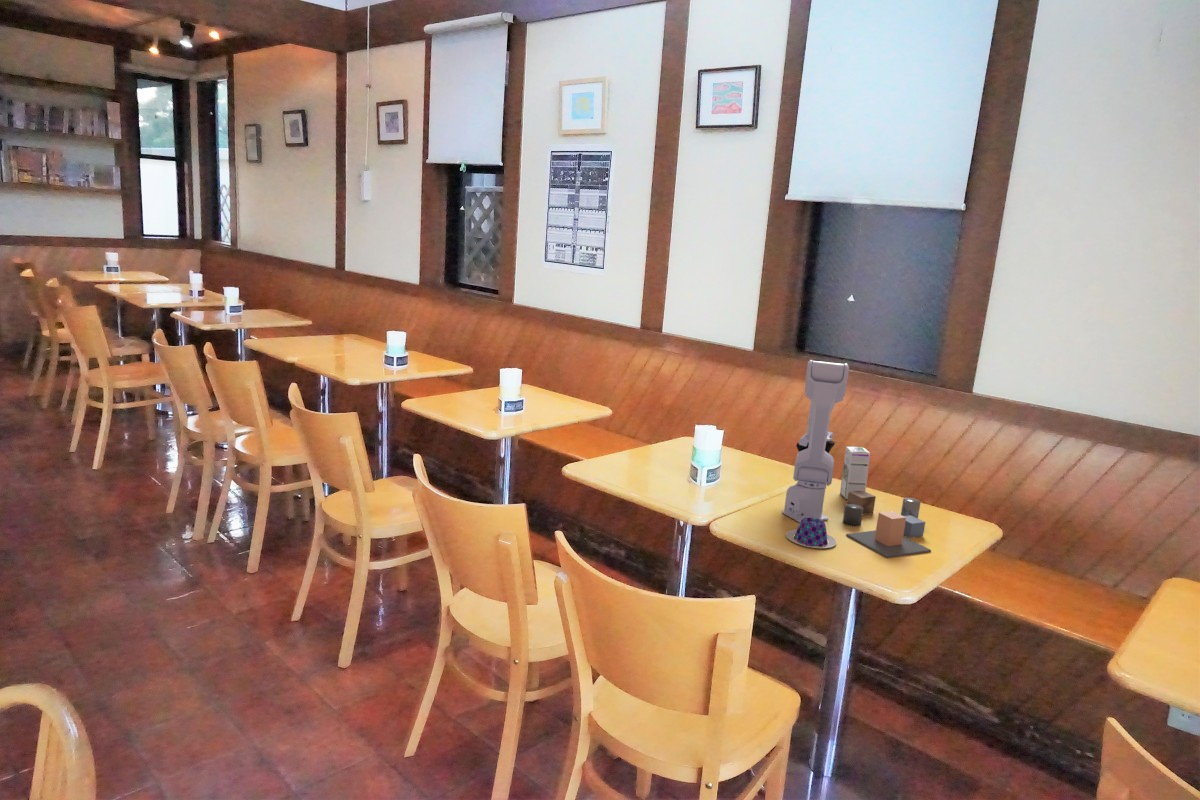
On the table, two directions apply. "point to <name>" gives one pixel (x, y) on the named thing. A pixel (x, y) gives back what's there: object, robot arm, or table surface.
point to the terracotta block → (890, 528)
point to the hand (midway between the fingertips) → (812, 466)
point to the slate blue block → (913, 527)
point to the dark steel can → (910, 507)
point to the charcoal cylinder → (852, 515)
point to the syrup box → (854, 470)
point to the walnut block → (862, 500)
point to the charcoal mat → (888, 551)
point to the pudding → (811, 534)
